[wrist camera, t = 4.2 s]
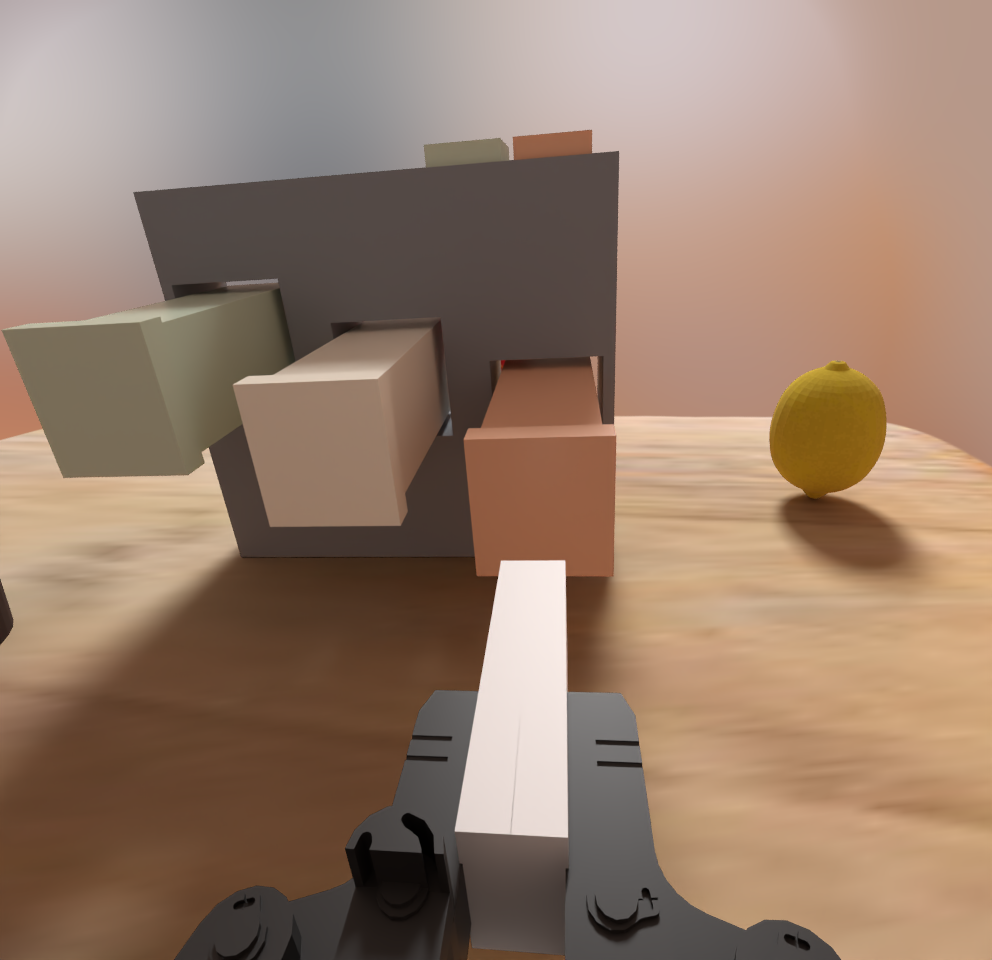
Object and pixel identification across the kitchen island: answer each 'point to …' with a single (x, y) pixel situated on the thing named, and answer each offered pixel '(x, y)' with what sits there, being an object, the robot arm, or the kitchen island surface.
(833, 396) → the lemon
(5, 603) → the coffee mug
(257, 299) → the sage key
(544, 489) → the terracotta key
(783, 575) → the kitchen island surface
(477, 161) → the key panel
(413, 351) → the ivory key
